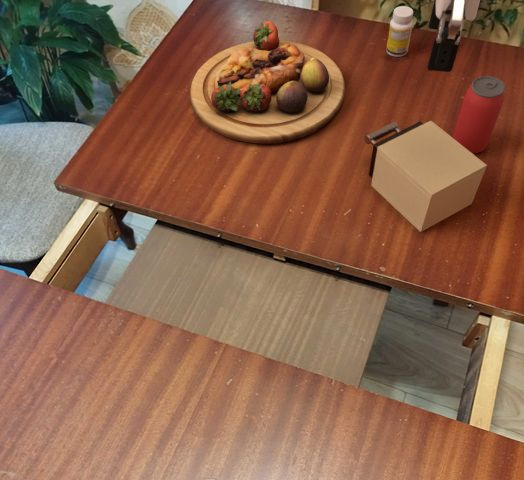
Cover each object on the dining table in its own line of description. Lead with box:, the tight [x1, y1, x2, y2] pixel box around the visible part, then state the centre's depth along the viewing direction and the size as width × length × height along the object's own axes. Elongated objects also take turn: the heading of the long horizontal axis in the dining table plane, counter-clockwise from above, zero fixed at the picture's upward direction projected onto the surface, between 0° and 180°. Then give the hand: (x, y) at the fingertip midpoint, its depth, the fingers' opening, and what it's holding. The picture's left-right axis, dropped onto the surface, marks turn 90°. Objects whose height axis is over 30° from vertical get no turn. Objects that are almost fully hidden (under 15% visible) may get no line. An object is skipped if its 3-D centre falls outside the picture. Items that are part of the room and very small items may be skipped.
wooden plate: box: [189, 20, 346, 144], centre depth 109 cm, size 32×32×8 cm
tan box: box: [370, 120, 487, 233], centre depth 93 cm, size 14×12×9 cm
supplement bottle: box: [385, 5, 414, 58], centre depth 115 cm, size 5×5×8 cm
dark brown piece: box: [363, 121, 424, 179], centre depth 95 cm, size 17×10×7 cm, turn 32°
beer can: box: [451, 75, 506, 155], centre depth 97 cm, size 7×7×12 cm
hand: (439, 48), depth 75 cm, fingers open, 9 cm apart
